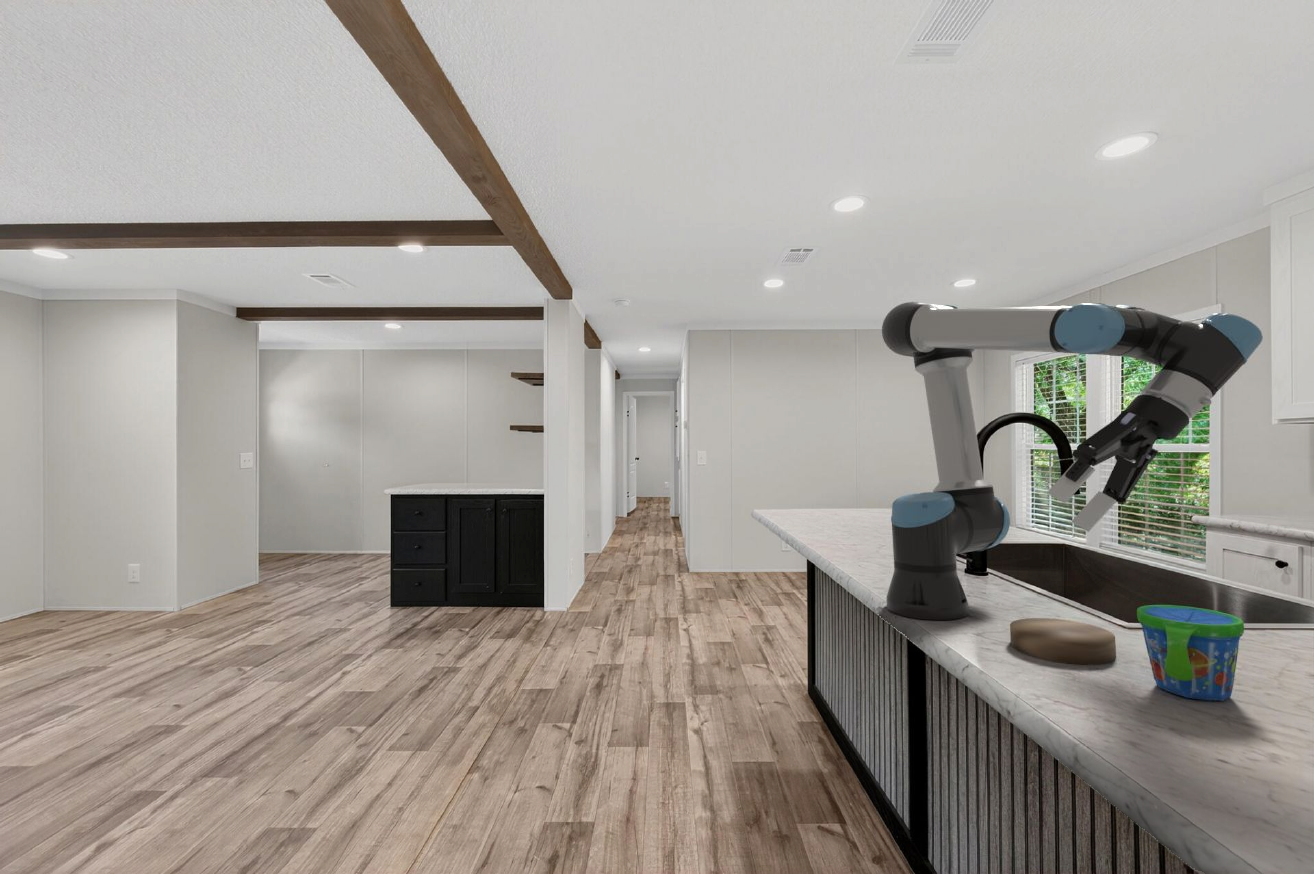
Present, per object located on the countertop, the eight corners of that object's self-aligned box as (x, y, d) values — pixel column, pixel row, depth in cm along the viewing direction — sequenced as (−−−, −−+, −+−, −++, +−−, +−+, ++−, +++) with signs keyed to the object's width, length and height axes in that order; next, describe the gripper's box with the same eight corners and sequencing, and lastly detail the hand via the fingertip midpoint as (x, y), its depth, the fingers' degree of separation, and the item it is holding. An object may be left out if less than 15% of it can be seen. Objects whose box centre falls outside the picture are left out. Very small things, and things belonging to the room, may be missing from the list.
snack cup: (1163, 666, 87) (1159, 596, 87) (1264, 689, 78) (1259, 611, 78) (1120, 693, 78) (1115, 615, 79) (1228, 722, 70) (1223, 634, 70)
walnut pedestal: (991, 638, 102) (990, 621, 102) (1064, 632, 104) (1064, 615, 104) (1057, 667, 88) (1056, 647, 88) (1140, 660, 90) (1139, 640, 90)
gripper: (1177, 378, 81) (1069, 498, 84) (1204, 450, 96) (1111, 550, 99) (1121, 358, 87) (1021, 471, 90) (1154, 429, 102) (1068, 524, 105)
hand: (1068, 513), depth 95 cm, fingers open, 13 cm apart
